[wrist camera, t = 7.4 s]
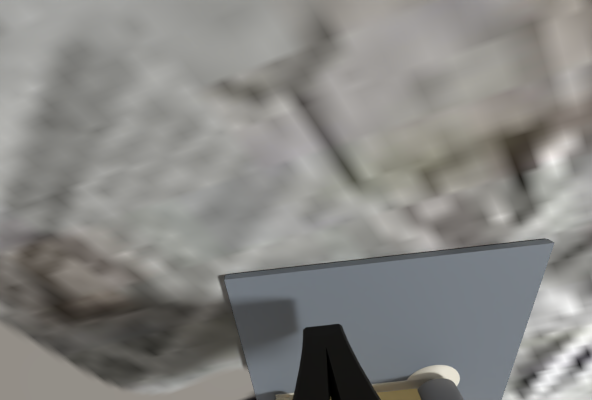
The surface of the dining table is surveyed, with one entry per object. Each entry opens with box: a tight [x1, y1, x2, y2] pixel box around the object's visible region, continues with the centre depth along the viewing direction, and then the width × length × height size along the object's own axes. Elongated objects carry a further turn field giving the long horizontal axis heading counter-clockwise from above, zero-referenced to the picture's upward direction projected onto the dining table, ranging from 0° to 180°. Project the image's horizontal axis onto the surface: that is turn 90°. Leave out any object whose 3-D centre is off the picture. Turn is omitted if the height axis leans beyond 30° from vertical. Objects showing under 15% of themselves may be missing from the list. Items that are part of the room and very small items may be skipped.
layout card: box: [224, 239, 554, 400], centre depth 14 cm, size 15×13×1 cm
